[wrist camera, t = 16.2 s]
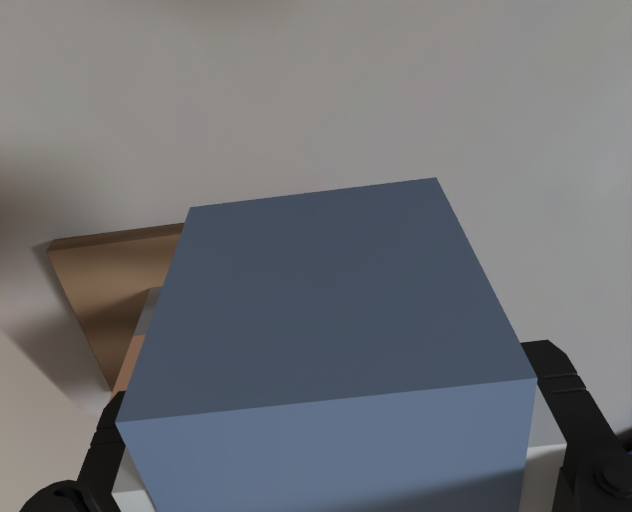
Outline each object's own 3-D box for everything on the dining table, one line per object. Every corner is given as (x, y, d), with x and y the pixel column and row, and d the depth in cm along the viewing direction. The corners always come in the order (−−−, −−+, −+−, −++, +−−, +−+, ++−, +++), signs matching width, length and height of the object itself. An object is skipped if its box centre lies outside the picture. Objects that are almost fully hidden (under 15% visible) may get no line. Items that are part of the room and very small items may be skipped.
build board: (54, 239, 36) (12, 298, 31) (321, 205, 36) (326, 258, 30) (121, 386, 44) (96, 454, 39) (342, 360, 43) (349, 425, 38)
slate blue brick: (190, 207, 14) (114, 422, 8) (436, 177, 14) (537, 378, 8) (238, 380, 18) (209, 618, 12) (436, 359, 17) (507, 592, 12)
